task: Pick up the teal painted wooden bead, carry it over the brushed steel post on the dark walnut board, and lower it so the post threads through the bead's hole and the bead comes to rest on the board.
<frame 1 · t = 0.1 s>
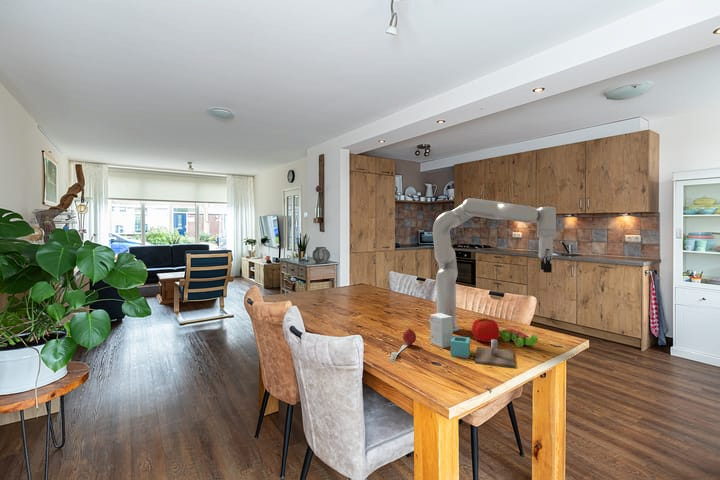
hand: (546, 271, 158), 31 cm above the table, tool pointing down, fingers open, 9 cm apart
onion: (409, 345, 153), on the table, touching fork
tomato: (485, 341, 157), on the table
toy crocodile: (516, 343, 154), on the table
post board: (494, 357, 137), on the table
small box: (441, 344, 154), on the table
fork: (399, 354, 144), on the table, touching onion
bead: (460, 353, 142), on the table
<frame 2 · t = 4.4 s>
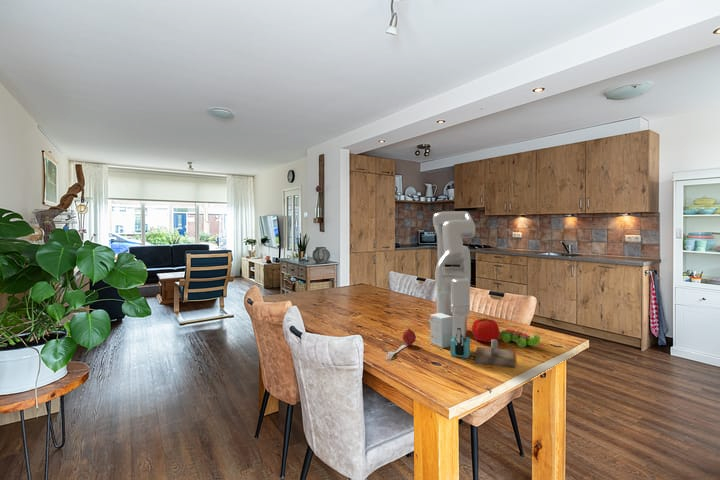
hand: (460, 351, 142), 1 cm above the table, tool pointing down, fingers closed on bead, 7 cm apart
fork: (396, 353, 145), on the table, touching onion
bead: (460, 353, 142), on the table, touching gripper
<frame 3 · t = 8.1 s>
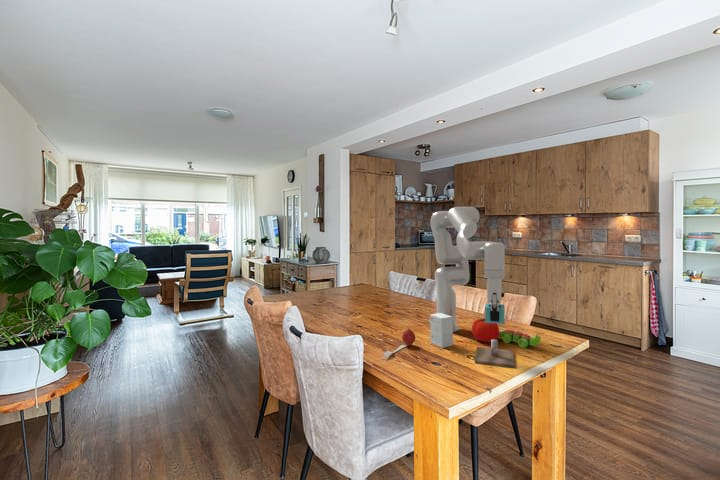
hand: (494, 318, 136), 16 cm above the table, tool pointing down, fingers closed on bead, 7 cm apart
onion: (408, 346, 152), on the table
fork: (394, 353, 145), on the table
bead: (494, 321, 136), point 15 cm above the table, touching gripper
when the fingers open (3 cm above the table, at t = 11.4 s): bead drops 1 cm, resting on post board.
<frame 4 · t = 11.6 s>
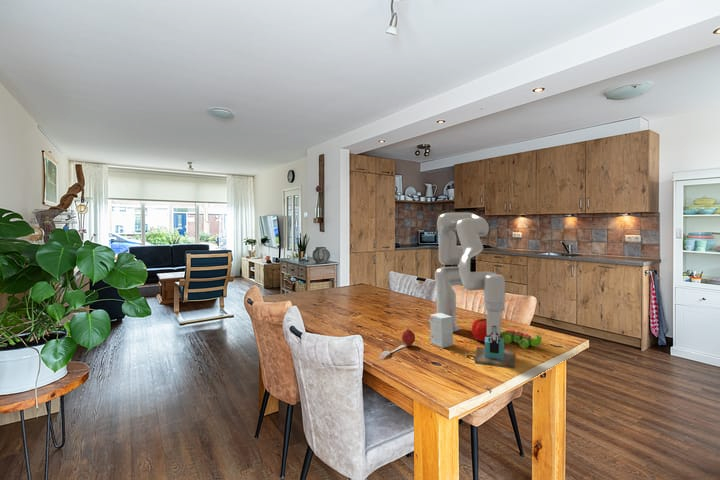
hand: (494, 348, 137), 4 cm above the table, tool pointing down, fingers open, 9 cm apart
bead: (494, 355, 137), point 1 cm above the table, touching post board
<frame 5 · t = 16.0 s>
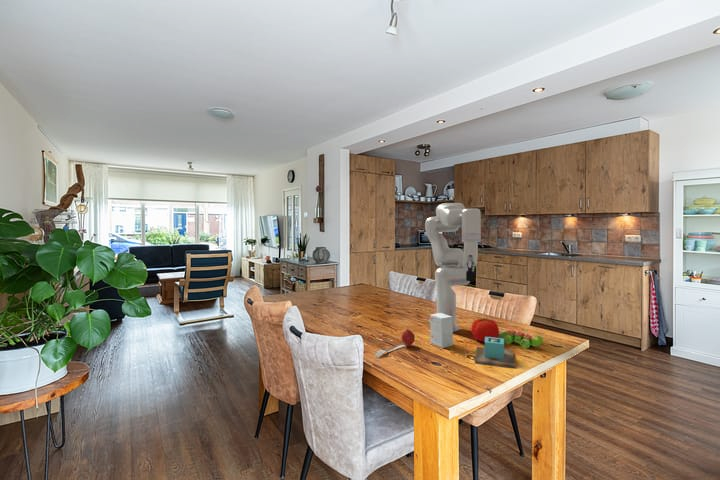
hand: (471, 279, 144), 30 cm above the table, tool pointing down, fingers open, 9 cm apart
onion: (408, 346, 152), on the table, touching fork
fork: (390, 353, 146), on the table, touching onion
at the end: bead 0.1 cm from the post board (horizontally); bead point 1.0 cm above the table; the gripper is holding nothing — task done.
